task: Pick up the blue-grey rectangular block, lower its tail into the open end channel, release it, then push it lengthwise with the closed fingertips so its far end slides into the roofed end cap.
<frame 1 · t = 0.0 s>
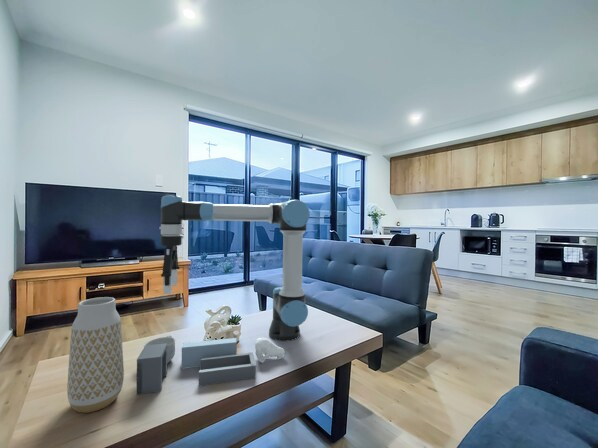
hand: (170, 289, 109), 28 cm above the table, fingers open, 13 cm apart
vase: (96, 402, 84), on the table
white irregular piece: (269, 359, 111), on the table
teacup: (162, 361, 109), on the table
endcap b: (152, 383, 93), on the table
blue-grey rectangular block: (209, 363, 108), on the table
endcap a: (230, 373, 100), on the table
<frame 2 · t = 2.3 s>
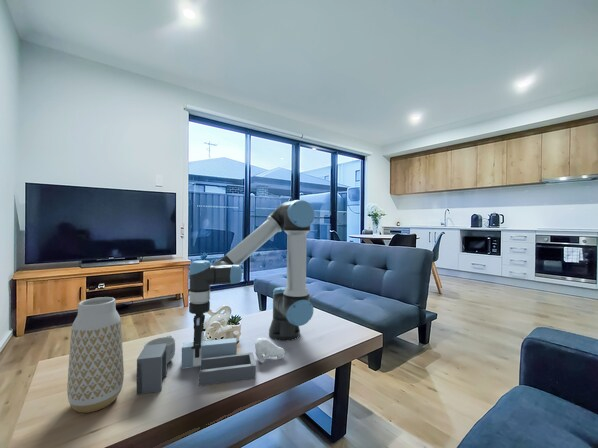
hand: (198, 356, 106), 3 cm above the table, fingers open, 13 cm apart
nothing on the table moved.
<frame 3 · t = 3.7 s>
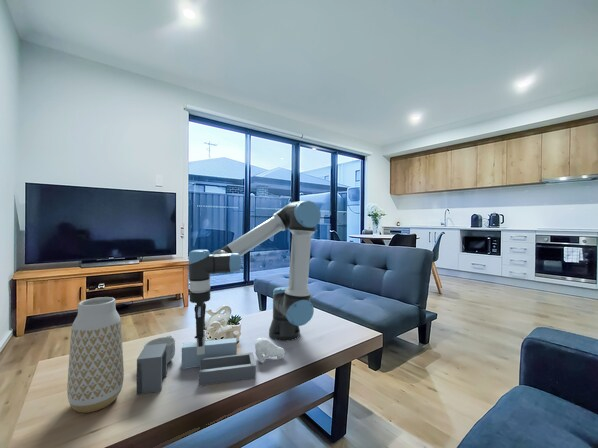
hand: (201, 350, 106), 5 cm above the table, fingers open, 5 cm apart
blue-grey rectangular block: (209, 363, 108), on the table, touching gripper
everything else where it was.
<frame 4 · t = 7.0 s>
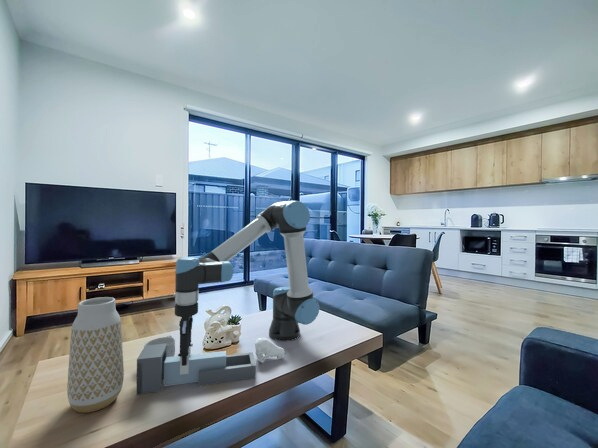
hand: (185, 369, 96), 4 cm above the table, fingers closed on blue-grey rectangular block, 4 cm apart
blue-grey rectangular block: (196, 379, 97), on the table, touching gripper
everything else where it was.
when the fingers open (2 cm above the table, at t = 7.6 s): blue-grey rectangular block stays where it is, on the table.
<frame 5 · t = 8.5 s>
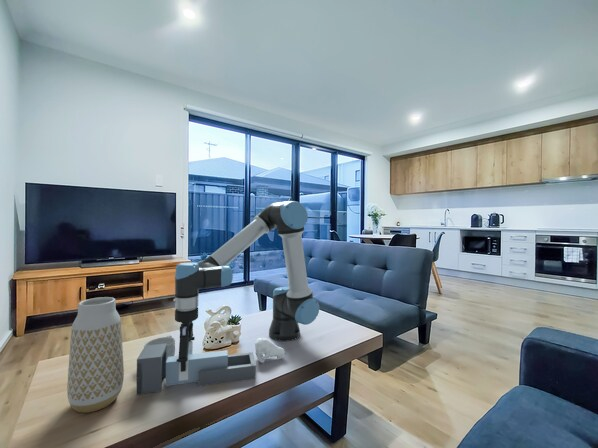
hand: (186, 368, 96), 4 cm above the table, fingers open, 13 cm apart
blue-grey rectangular block: (197, 378, 97), on the table
everything else where it was.
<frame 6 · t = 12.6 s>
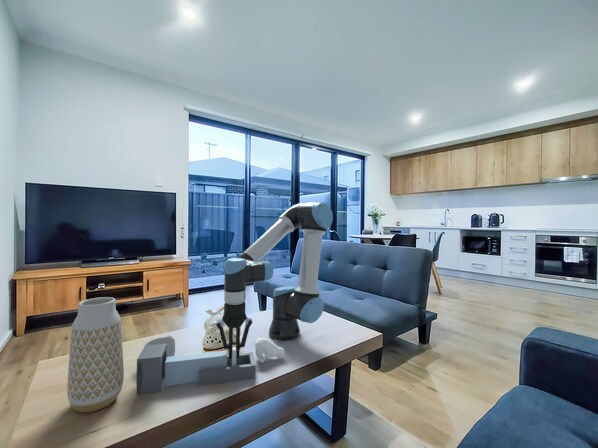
hand: (233, 366, 100), 3 cm above the table, fingers closed
blue-grey rectangular block: (197, 378, 97), on the table, touching gripper
everything else where it was.
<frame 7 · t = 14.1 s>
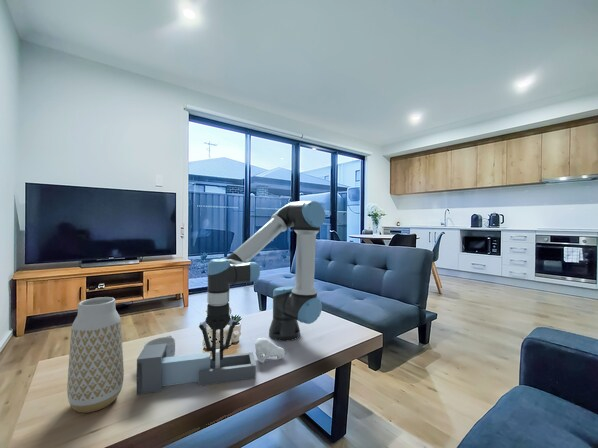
hand: (217, 368, 99), 2 cm above the table, fingers closed
blue-grey rectangular block: (179, 381, 95), on the table
everything else where it was.
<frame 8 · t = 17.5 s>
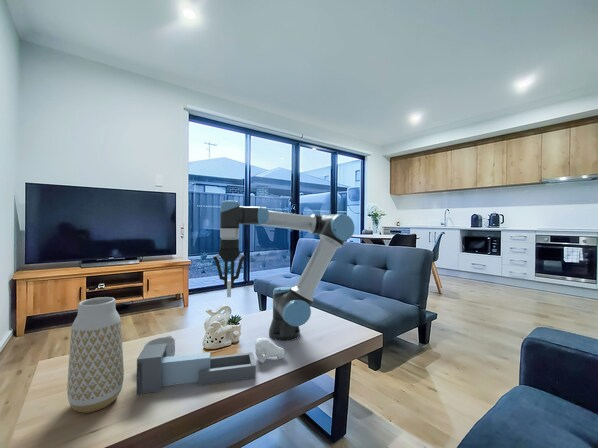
hand: (228, 296, 113), 24 cm above the table, fingers closed
nothing on the table moved.
at the end: blue-grey rectangular block 0.9 cm from the target spot on the table beside the endcap b, on the table; blue-grey rectangular block tilted 0°; the gripper is holding nothing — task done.
